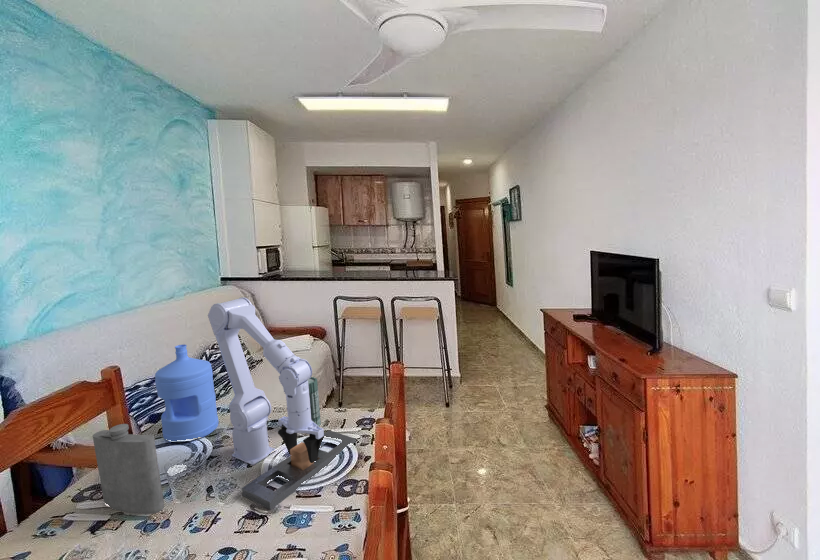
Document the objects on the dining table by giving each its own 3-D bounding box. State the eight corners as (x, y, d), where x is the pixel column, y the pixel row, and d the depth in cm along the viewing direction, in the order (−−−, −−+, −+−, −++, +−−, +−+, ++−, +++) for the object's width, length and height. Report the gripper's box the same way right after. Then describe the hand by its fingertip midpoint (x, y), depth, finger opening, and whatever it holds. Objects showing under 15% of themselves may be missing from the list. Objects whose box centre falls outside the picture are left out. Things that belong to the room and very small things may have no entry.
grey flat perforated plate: (242, 495, 97) (241, 488, 97) (329, 436, 122) (329, 430, 122) (270, 509, 92) (269, 501, 91) (355, 444, 117) (355, 438, 117)
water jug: (194, 416, 139) (184, 337, 135) (229, 422, 134) (220, 340, 129) (151, 440, 125) (138, 352, 121) (189, 448, 119) (176, 356, 115)
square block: (292, 470, 106) (289, 449, 105) (303, 462, 109) (301, 442, 108) (302, 475, 104) (300, 453, 103) (314, 467, 107) (312, 445, 106)
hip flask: (167, 505, 95) (155, 424, 92) (152, 517, 91) (140, 434, 88) (113, 496, 99) (100, 419, 96) (97, 508, 95) (83, 428, 92)
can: (306, 420, 133) (303, 376, 131) (323, 422, 131) (320, 377, 129) (297, 429, 127) (292, 384, 125) (314, 431, 125) (310, 385, 123)
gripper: (267, 408, 105) (272, 456, 107) (307, 421, 97) (312, 473, 99) (288, 397, 111) (292, 443, 113) (328, 408, 103) (331, 458, 105)
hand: (303, 456), depth 107 cm, fingers open, 7 cm apart
